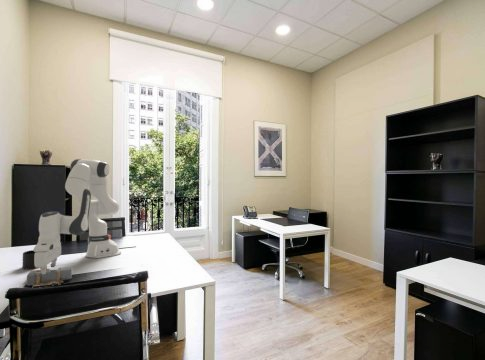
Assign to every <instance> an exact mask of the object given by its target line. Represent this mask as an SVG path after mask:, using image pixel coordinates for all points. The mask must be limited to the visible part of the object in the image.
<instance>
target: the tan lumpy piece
mask: <svg viewBox="0 0 485 360" xmlns="http://www.w3.org/2000/svg"><path fill="white" fill-rule="evenodd" d="M40 270H41V269H35V270H34V269H33V270H30V271H29V272H39V271H40ZM46 270H47V271H48V270H50V268H47V269H46Z"/></svg>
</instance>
